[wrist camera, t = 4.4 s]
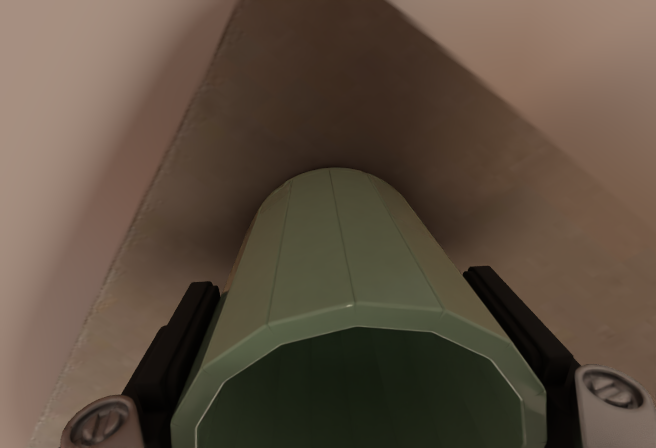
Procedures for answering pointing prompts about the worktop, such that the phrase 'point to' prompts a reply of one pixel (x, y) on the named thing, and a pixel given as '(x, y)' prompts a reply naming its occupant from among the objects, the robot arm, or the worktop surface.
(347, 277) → the green cup
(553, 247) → the worktop surface
